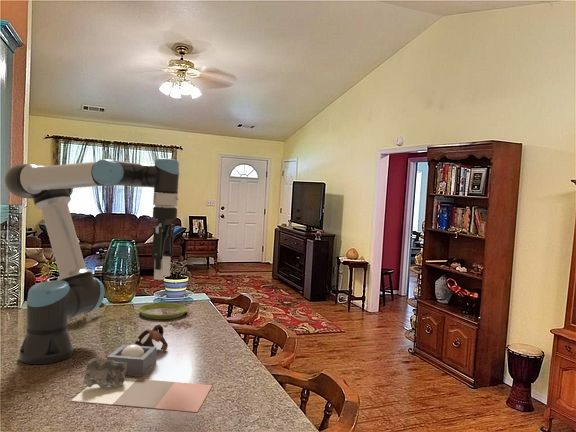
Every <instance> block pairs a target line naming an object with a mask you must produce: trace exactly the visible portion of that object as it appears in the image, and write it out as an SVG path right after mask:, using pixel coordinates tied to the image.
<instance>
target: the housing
mask: <svg viewBox="0 0 576 432" xmlns="http://www.w3.org/2000/svg"><path fill="white" fill-rule="evenodd" d="M129 345H130V344H122V345H121V346H119V347H118V348H117V349H115V350H113V352H111V353H110V354H109V355H108V356H107V357H106V358H107V359H106V360H113V361H115V362H116V361H117V362H127V369H126V373H125V376H134V377H144V375H146V373H148V371H150V369H152V367H153V366H154V365H155V364H156V363H157V352H158V351H157V347H156V346H154V347H148V346H140V347H141V348H142V349H143V350H144V355H143V356H141V357H129V356H121V353H122V351H123V349H124V348H125V347H127V346H129Z"/></svg>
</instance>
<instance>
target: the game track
mask: <svg viewBox="0 0 576 432" xmlns="http://www.w3.org/2000/svg"><path fill="white" fill-rule="evenodd" d="M212 388H213V385H212V384H203V383H190V382H178V381H177V382H176V381H165V380H154V379H143V378H134V377H133V378H132V377H125V379H124V383H123V385H122V386H120V387H118V388H113V387H112V386H106V387H105V388H100V386H99V385H97V384H95V385H93V386H92V387H87V386H86V388H84V389H83V390H82V391H80V393H78V394H77V395H76V396H75V397H73V398H72V399H71V400H70V401H71V402H74V403H75V402H77V403H85V404H87V403H89V404H95V405H96V404H98V405H109V406H117V407H118V406H120V407H130V408H131V407H132V408H142V409H143V408H144V409H154V410H163V411H174V412H176V411H177V412H184V413H185V412H188V413H196V414H197V413H199V411H200V409H201V407H202V405H203V403H204V402H205V400H206V398H207V396H208V395H209V392H210V391H211V389H212Z"/></svg>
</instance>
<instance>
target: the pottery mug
mask: <svg viewBox="0 0 576 432" xmlns="http://www.w3.org/2000/svg"><path fill="white" fill-rule="evenodd" d="M145 336H147V338H146V340H145V341H144V342H143V343H142V340H143V338H145ZM137 338H138V340H136V341H135V342H134V344H135V345H139V346H148V347H155V344H154V343H153V340H154V341H155V342H158V343H159V342H161V343H162V345H161V347H160V350H161V351H162V352H163V353H165V352H166V351H167V350H168V343H167V341H166V339H165V338H164V327H163V325H161V324H157V325H154V327H153V328H152V329H150V328H149V329H146V330H144V331H142V332H141V333H140V335H138V337H137Z"/></svg>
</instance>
